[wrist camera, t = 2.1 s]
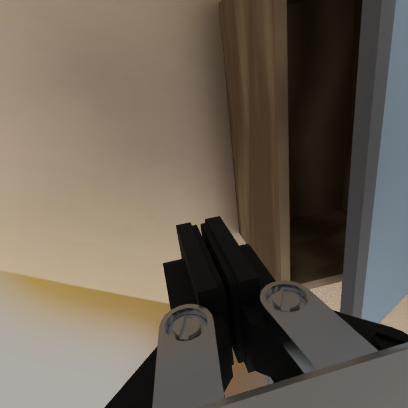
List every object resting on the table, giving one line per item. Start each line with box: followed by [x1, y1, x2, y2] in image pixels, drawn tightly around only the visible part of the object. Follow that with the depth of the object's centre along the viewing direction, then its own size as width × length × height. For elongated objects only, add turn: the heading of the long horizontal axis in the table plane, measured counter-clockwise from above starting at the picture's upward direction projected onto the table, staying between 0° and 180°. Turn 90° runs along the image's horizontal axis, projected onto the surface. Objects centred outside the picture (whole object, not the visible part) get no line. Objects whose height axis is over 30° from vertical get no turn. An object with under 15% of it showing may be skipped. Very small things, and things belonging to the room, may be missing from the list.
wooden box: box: [219, 0, 363, 289], centre depth 28 cm, size 14×24×12 cm, turn 7°
